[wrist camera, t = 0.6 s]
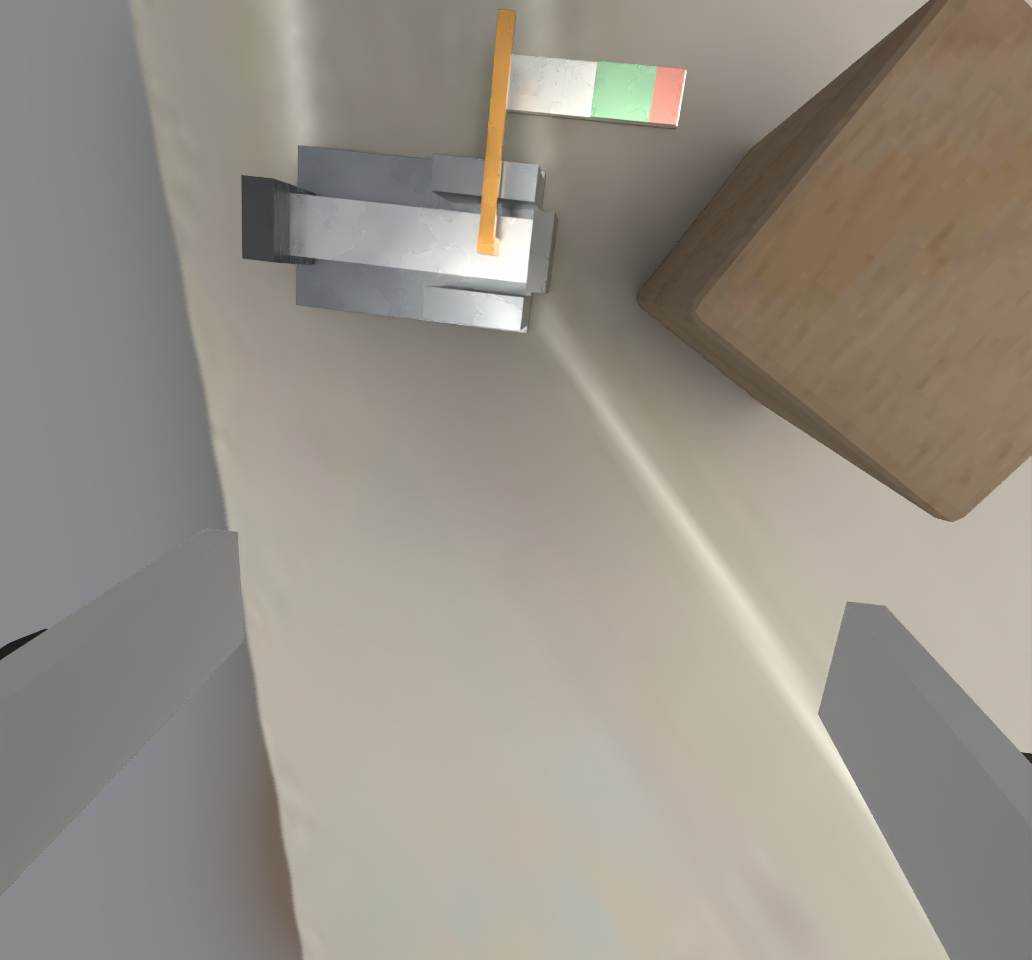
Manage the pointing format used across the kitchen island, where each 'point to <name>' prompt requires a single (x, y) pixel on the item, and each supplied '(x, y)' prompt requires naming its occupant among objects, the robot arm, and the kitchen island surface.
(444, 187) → the gauge housing
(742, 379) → the wooden block
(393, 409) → the kitchen island surface
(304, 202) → the gauge slider with pointer
